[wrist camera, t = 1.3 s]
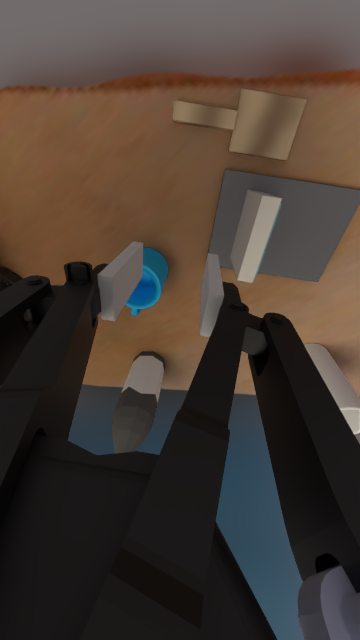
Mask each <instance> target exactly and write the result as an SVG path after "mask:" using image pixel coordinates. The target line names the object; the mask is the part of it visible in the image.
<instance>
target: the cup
mask: <svg viewBox="0 0 360 640" xmlns="http://www.w3.org/2000/svg"><path fill="white" fill-rule="evenodd" d="M304 346H305V348H306V350H307V351H308V353H309V355H310V357H311V359H312V360H313V362H314V364H315V366H316V368H317V369H318V371H319V373H320V375H321V376H322V378H323V380H324V382H325V384H326V385H327V387H328V389H329V391H330V392H331V394H332V396H333V398H334V400H335V401H336V403H337V405H338V407H339V408H340V410H341V412H342V414H343V416H344V417H345V419H346V421H347V423H348V424H349V426H350V428H351V430H352V432H353V433H354V434H358V433H360V397H359V396H358V394H357V393H356V391H355V390H354V388H353V387H352V386H351V384H350V383H349V381H348V380H347V378H346V377H345V375H344V374H343V372H342V371H341V370H340V368H339V367H338V365H337V364H336V362H335V361H334V359H333V358H332V357H331V355H330V354H329V352H328V351H327V349H326V348H325V347H324V346H322V345H320V344H316V343H308V344H304Z"/></svg>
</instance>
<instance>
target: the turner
mask: <svg viewBox="0 0 360 640" xmlns="http://www.w3.org/2000/svg"><path fill="white" fill-rule="evenodd" d="M306 101H307V99H301V98H295V97H289V96H283V95H277V94H271V93H265V92H259V91H254V90H248V89H242V90H241V93H240V97H239V102H238V107H237V111H235V110H229V109H223V108H217V107H211V106H206V105H200V104H194V103H188V102H182V101H176V100H174V108H173V119H172V120H173V121H174V122H177V123H183V124H189V125H195V126H201V127H206V128H212V129H218V130H224V131H230V132H232V136H231V141H230V145H229V150H228V151H229V152H235V153H241V154H247V155H253V156H259V157H265V158H271V159H277V160H283V161H286V160H287V157H288V154H289V152H290V149H291V146H292V143H293V140H294V137H295V134H296V131H297V128H298V125H299V122H300V119H301V116H302V113H303V110H304V107H305V104H306Z"/></svg>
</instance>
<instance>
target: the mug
mask: <svg viewBox="0 0 360 640" xmlns="http://www.w3.org/2000/svg"><path fill="white" fill-rule="evenodd" d="M167 276H168V265H167V262H166V260H165V258H164V257H163V256H162V255H161V254H160V253H159V252H158V251H156V250H154V249H152V248H146V247H143V270H142V278H141V280H140V281H139V283H138V284H137V286H136V288H135V289H134V291H133V293H132V294H131V296H130V297H129V299H128V301H127V302H126V304H125V305H126V306H129V307H131V314H132V315H134V316H137V315H138V314H139V313H140V310H141V309H145V308H149V307H151V306H153V305H154V304H155V303H156V302H157V301H158V299H159V297H160V295H161V292H162V289H163V287H164V284H165V281H166V279H167Z"/></svg>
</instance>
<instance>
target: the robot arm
mask: <svg viewBox="0 0 360 640" xmlns="http://www.w3.org/2000/svg"><path fill="white" fill-rule="evenodd" d="M64 269H65V275H66V280H67V281H66V283H65V284H64V286H51V284H50V280H49V279H48V278H47V277H43V276H30V277H26V278H24V279H22V278H20V277H19V276H18V275H16V274H15V273H13V272H11V271H9V270H7V269H5V268H2V267H0V386H1V385H2V386H1V387H0V640H277V638H276V636H275V634H274V632H273V630H272V628H271V626H270V625H269V623H268V621H267V619H266V617H265V615H264V613H263V611H262V609H261V607H260V605H259V603H258V602H257V600H256V598H255V596H254V594H253V592H252V590H251V588H250V586H249V584H248V583H247V581H246V579H245V577H244V575H243V573H242V571H241V569H240V567H239V565H238V563H237V561H236V559H235V558H234V556H233V554H232V552H231V550H230V548H229V546H228V544H227V542H226V540H225V539H224V536H223V535H222V533H221V531H220V529H219V527H218V525H217V523H216V515H217V509H218V503H219V497H220V491H221V485H222V479H223V473H224V467H225V461H226V455H227V449H228V443H229V436H230V431H229V429H228V422H229V416H230V411H231V406H232V400H233V395H234V389H235V384H236V378H237V373H238V367H239V362H240V356H241V351H243V352H246V353H248V359H249V364H250V368H251V373H252V377H253V382H254V386H255V391H256V395H257V400H258V405H259V409H260V414H261V418H262V423H263V427H264V431H265V436H266V441H267V446H268V450H269V454H270V459H271V464H272V468H273V473H274V477H275V482H276V486H277V491H278V495H279V500H280V505H281V509H282V514H283V518H284V523H285V527H286V530H287V534H288V538H289V542H290V546H291V548H292V552H293V555H294V558H295V561H296V564H297V566H298V569H299V573H300V575H301V578H302V580H303V583H302V585H301V587H300V589H299V595H298V612H299V614H298V617H299V625H300V628H301V631H302V633H303V636H304V639H305V640H360V444H359V442H358V440H357V439H356V437H355V435H354V433H353V432H352V430H351V428H350V426H349V424H348V423H347V421H346V419H345V417H344V416H343V414H342V412H341V410H340V408H339V407H338V405H337V403H336V401H335V400H334V398H333V396H332V394H331V392H330V391H329V389H328V387H327V385H326V384H325V382H324V380H323V378H322V376H321V375H320V373H319V371H318V369H317V368H316V366H315V364H314V362H313V360H312V359H311V357H310V355H309V353H308V351H307V350H306V348H305V346H304V344H303V343H302V341H301V339H300V337H299V335H298V334H297V332H296V330H295V328H294V327H293V325H292V323H291V322H290V320H289V319H287V318H286V317H285V316H283V315H281V314H277V313H266V314H265V315H264V317H263V319H262V318H259V317H257V316H254V315H251V314H250V313H248V312H249V308H248V307H247V306H246V305H245V304H244V303H242V302H241V299H240V295H239V292H238V288H237V287H236V286H235V285H234V284H233V283H227V282H222V278H221V271H220V265H219V258H218V255H216V254H210V253H208V255H207V260H206V265H205V270H204V275H203V280H202V285H201V308H200V335H201V336H207V337H210V338H209V341H208V343H207V346H206V348H205V351H204V353H203V356H202V358H201V361H200V363H199V366H198V368H197V370H196V373H195V375H194V378H193V380H192V383H191V385H190V388H189V390H188V393H187V395H186V398H185V400H184V403H183V405H182V407H181V409H180V410H179V411H178V412H177V415H176V417H175V419H174V421H173V424H172V426H171V429H170V431H169V433H168V436H167V438H166V441H165V443H164V445H163V448H162V450H161V453H160V455H155V454H149V453H144V452H138V451H134V452H125V453H116V454H108V455H94V454H92V453H91V452H89V451H87V450H85V449H83V448H81V447H79V446H77V445H75V444H73V443H71V442H69V441H68V437H69V432H70V428H71V424H72V420H73V417H74V413H75V409H76V405H77V401H78V397H79V394H80V390H81V385H82V382H83V378H84V375H85V371H86V367H87V363H88V359H89V355H90V352H91V348H92V344H93V340H94V336H95V332H96V329H97V325H98V317H97V315H98V314H99V313H100V312H101V318H102V320H109V321H115V320H116V319H117V317H118V315H119V314H120V312H121V310H122V309H123V307H124V306H125V304H126V302H127V301H128V299H129V297H130V296H131V294H132V293H133V291H134V289H135V288H136V286H137V284H138V283H139V281H140V280H141V278H142V270H143V243H141V242H134V241H133V242H132V243H131V244H130V245H129V246H128V247H127V248H126V249H125V250H124V251H123V252H121V253H120V254H119V255H118V256H117V257H116V258H115V259H114V260H113V261H112V262H111V263H110V264H101V265H98V266H97V267H95V268H94V270H92V265H91V264H89V263H86V262H70V263H67V264H65V265H64Z"/></svg>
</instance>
